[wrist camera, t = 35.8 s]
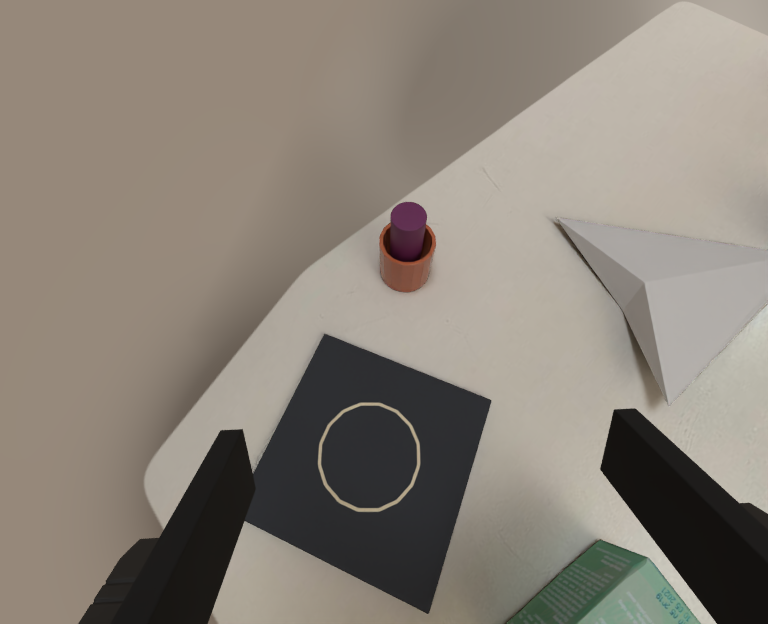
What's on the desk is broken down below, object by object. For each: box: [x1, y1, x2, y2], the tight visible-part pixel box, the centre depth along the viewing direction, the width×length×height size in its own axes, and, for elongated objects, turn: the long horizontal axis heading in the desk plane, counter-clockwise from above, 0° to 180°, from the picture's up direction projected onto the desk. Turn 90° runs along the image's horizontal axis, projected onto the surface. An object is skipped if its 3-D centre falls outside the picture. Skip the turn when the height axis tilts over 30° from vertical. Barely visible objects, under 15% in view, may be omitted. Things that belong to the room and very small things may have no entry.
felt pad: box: [245, 334, 491, 614], centre depth 37 cm, size 20×20×1 cm
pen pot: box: [380, 223, 436, 292], centre depth 43 cm, size 6×6×6 cm
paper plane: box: [556, 217, 768, 406], centre depth 43 cm, size 26×28×4 cm
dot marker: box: [390, 202, 427, 262], centre depth 41 cm, size 4×4×10 cm
